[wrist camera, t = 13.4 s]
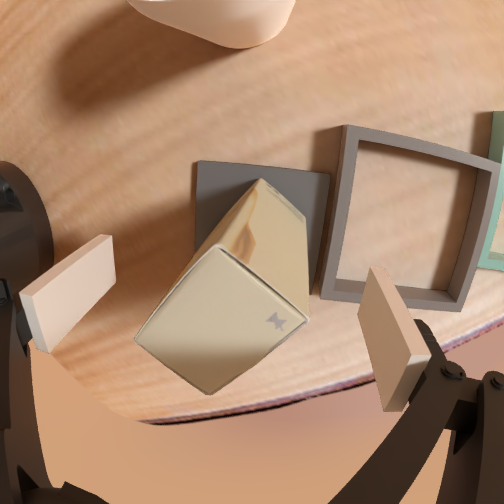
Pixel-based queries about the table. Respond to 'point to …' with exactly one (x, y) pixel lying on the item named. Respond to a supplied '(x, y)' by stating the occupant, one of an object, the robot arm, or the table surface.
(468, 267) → the grey frame
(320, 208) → the slate mat
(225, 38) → the cup
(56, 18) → the table surface
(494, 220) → the teal frame
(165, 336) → the skincare box
